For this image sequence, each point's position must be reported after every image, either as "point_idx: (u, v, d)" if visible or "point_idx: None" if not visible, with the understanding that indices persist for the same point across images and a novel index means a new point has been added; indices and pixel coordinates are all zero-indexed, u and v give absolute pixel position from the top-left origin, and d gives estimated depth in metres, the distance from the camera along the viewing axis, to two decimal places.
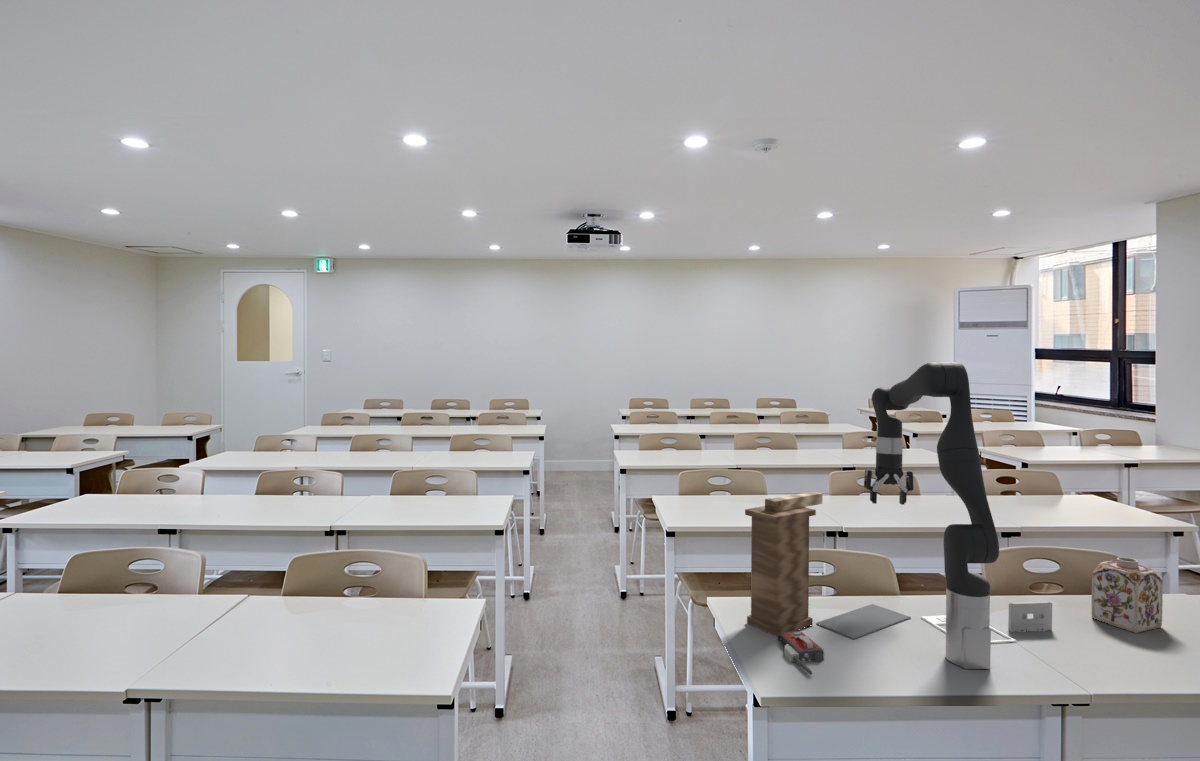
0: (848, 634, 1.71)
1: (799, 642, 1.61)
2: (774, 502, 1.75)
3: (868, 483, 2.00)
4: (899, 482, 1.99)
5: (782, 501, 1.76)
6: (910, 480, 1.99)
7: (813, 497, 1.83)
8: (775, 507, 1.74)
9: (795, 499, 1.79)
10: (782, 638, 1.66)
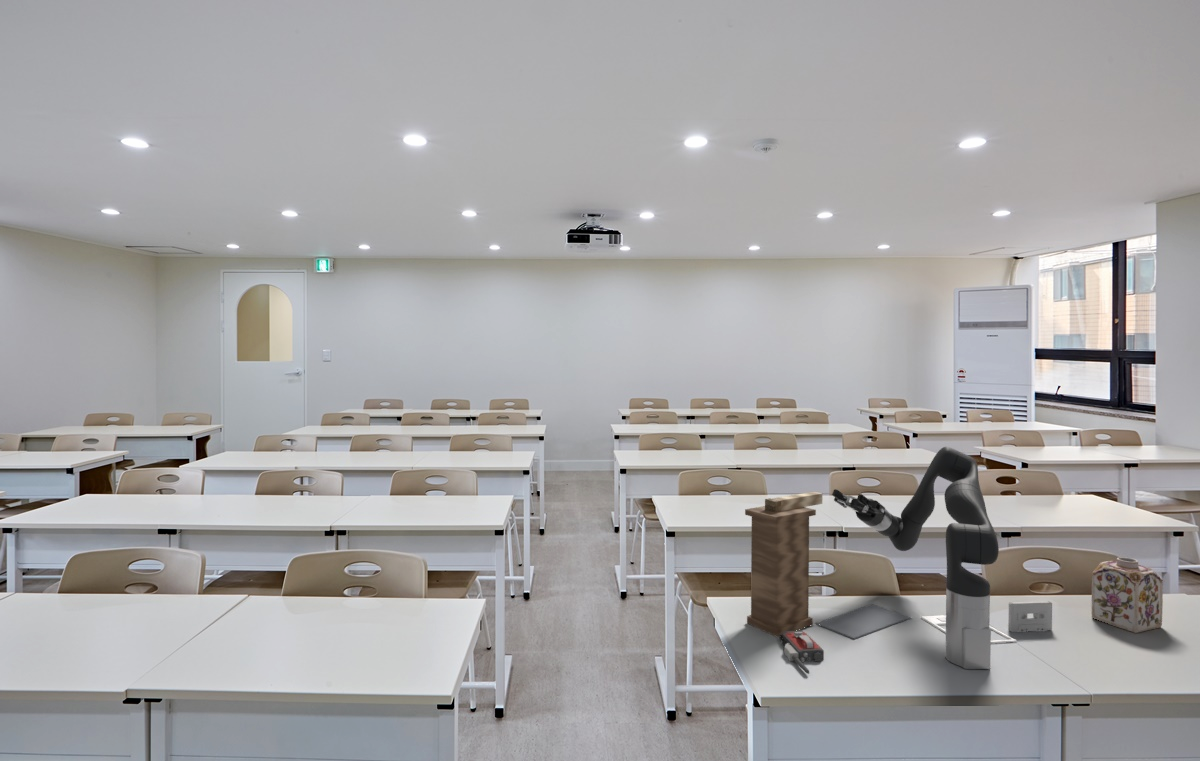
0: (848, 634, 1.71)
1: (799, 641, 1.61)
2: (774, 502, 1.75)
3: None
4: None
5: (782, 501, 1.76)
6: None
7: (813, 497, 1.83)
8: (775, 507, 1.74)
9: (795, 499, 1.79)
10: (783, 637, 1.66)
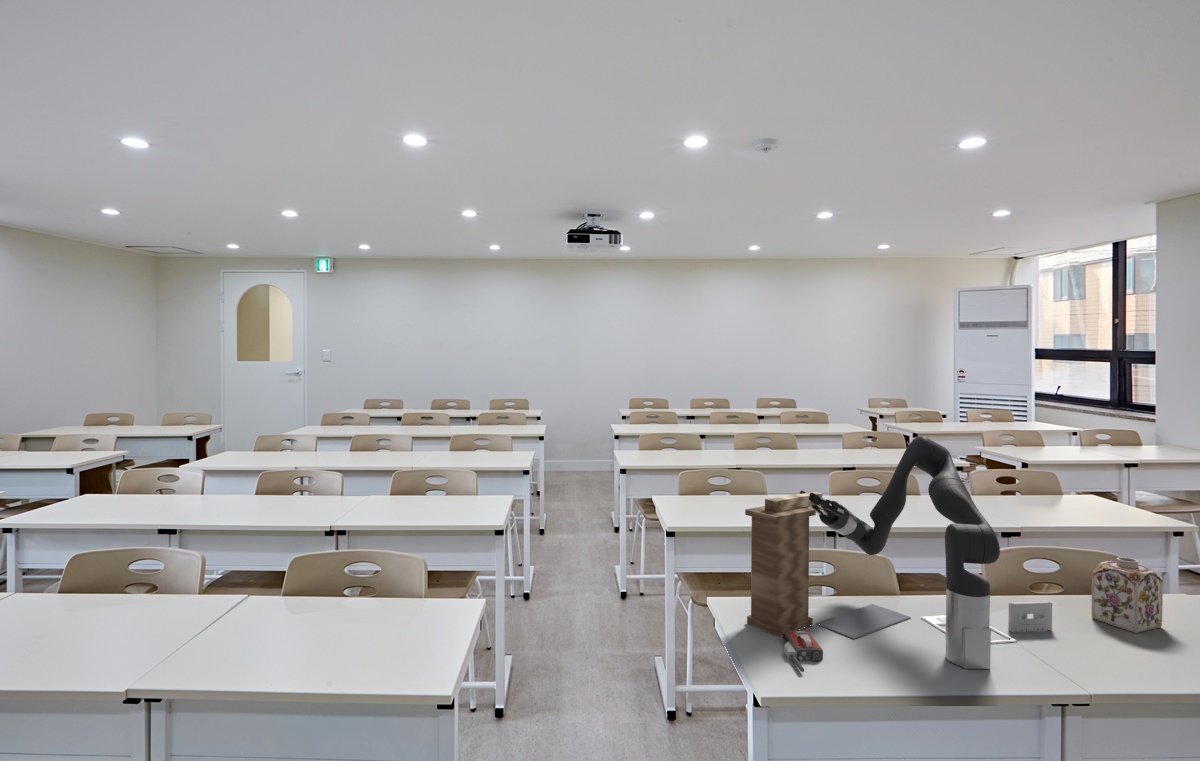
0: (848, 634, 1.71)
1: (800, 640, 1.62)
2: (774, 502, 1.75)
3: None
4: None
5: (782, 501, 1.76)
6: None
7: None
8: (775, 507, 1.74)
9: (795, 499, 1.79)
10: (785, 636, 1.67)
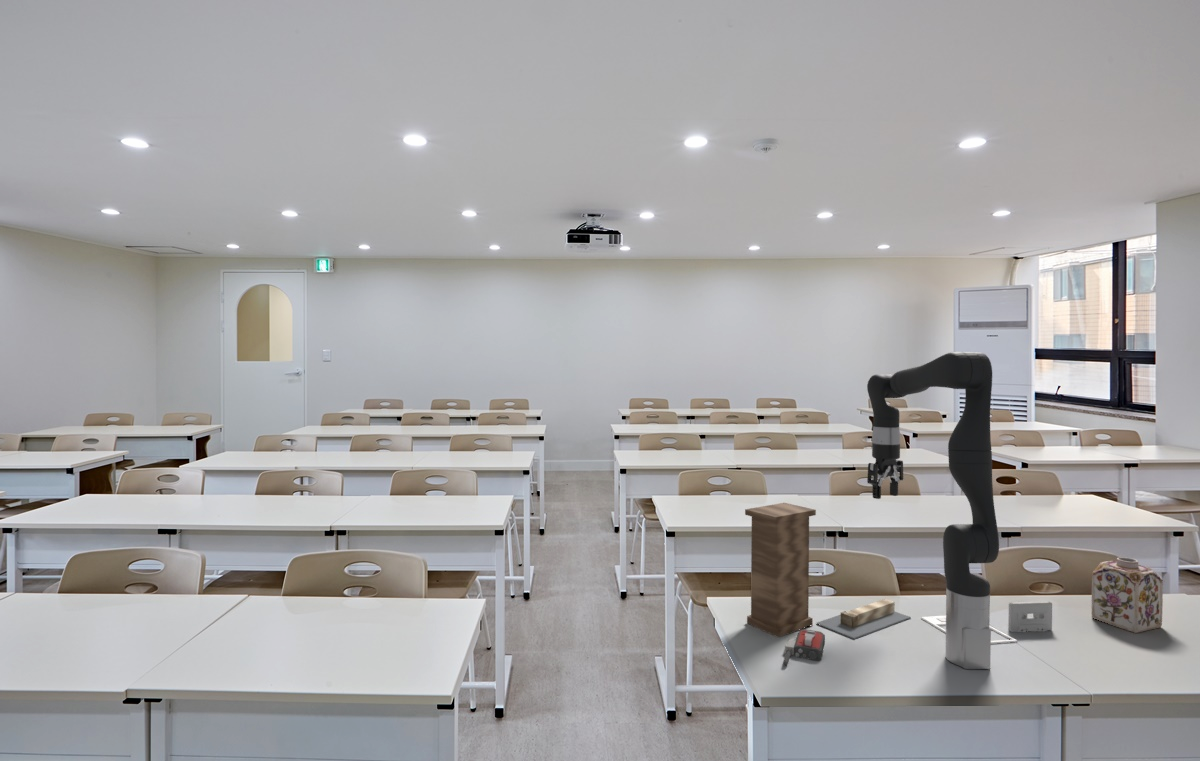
0: (848, 634, 1.71)
1: None
2: (851, 617, 1.76)
3: (875, 478, 1.85)
4: (896, 473, 1.90)
5: (858, 615, 1.77)
6: (901, 469, 1.92)
7: (886, 607, 1.84)
8: (852, 623, 1.75)
9: (870, 611, 1.80)
10: None
